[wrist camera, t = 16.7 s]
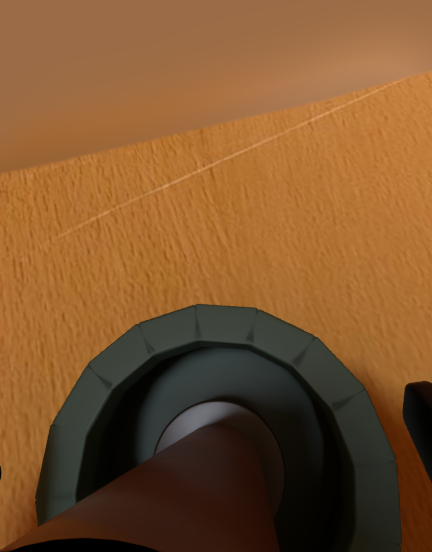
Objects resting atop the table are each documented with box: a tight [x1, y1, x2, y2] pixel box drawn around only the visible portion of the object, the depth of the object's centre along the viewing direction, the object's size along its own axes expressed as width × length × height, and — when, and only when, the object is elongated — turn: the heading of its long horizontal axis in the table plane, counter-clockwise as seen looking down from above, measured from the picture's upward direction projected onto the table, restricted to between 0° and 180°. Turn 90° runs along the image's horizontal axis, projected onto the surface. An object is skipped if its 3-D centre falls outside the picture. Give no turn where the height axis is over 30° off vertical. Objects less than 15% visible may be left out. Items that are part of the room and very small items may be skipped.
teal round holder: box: [35, 304, 402, 552], centre depth 12 cm, size 9×9×5 cm
